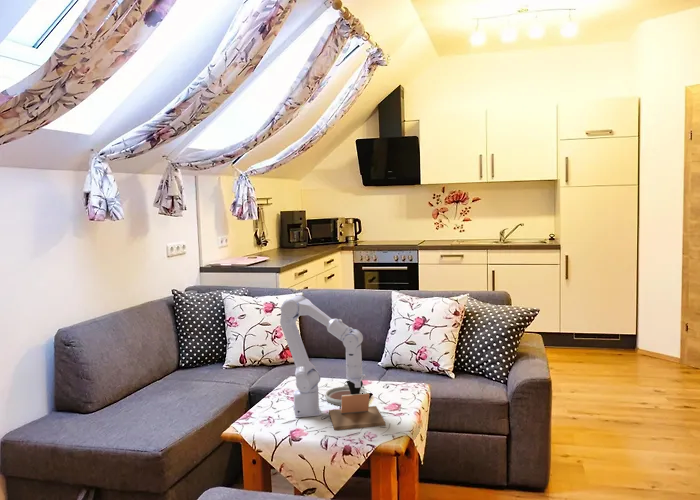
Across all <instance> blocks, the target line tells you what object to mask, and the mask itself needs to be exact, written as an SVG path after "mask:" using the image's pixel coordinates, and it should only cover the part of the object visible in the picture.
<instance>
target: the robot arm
mask: <svg viewBox="0 0 700 500" xmlns="http://www.w3.org/2000/svg"><path fill="white" fill-rule="evenodd" d="M279 308H280V320H279V324H280V327H281V330H282V332H283V335H284V337H285V341H286V343H287V346H288V349H289V351H290V353H291V356H292V360H293V363H294V365H295V372H294V376H295V386H296V388H297V390H293V407H292V408H293V411H294V417H295V418H306V417H317V416H318V417H319V416H322V412H321V409H320V402H319V401H320V400H319V399H320V398H319V397H320V396H319V385H318V384H319V383H320V382H321V374H320V372H319V371H318V370H317V369H316V367H315V365H314V364H313V363H312V362H311V361H310V358H309V356H308V353H307V350H306V348H305V345H304V343H303V340H302V337H301V334H300V332H299V328H298V325H297V321H298V319H299V317H300V316H308V317H310V318H312V319H314V320H315V321H317V322H318V323H320V324H322V325H324V327H326V331H327V333H330V334H331V335H332V336H333V337H336V338H337V340H339V341H341V342H342V345H343V346H344V348H345V371H346V374H345V375H346V376H345V379H346V385H347V384H348V386H349V389H350V393H351V395H352V394H359V393H360V389H361V388H362V386H364V382H363V379H365V378H366V374H363V362H362V361H363V359H362V358H363V357H362V355H363V354H362V343H363V340H364V336H363V333H362V332H361V331H360V330H359V329H355V328H353V327H350V326H349V325H347V324H346V323H344V322H343V320H342V319H341V318H339V319H338V318H332V317H330V316H329V315H328V314H326V313H325V312H324V311H323V310H321V309H320V308H319V307H317V306H316V305H315V304H313V303H312V302H311V300H310V299H308V298H306V297H305V296H304V295H302V294H298V295H295V296H293V297H291V298H289V299H286V300H284V301H283V303H282V304H281V306H280V307H279Z"/></svg>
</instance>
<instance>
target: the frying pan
mask: <svg viewBox="0 0 700 500" xmlns="http://www.w3.org/2000/svg"><path fill="white" fill-rule="evenodd" d="M364 388H365V385H362V387H361V389H360V393H359V394H362V393H368V392H367V391H366V389H364ZM342 395H351V393H350V389H349V386H348V384H347V383H346V384H344V386H337V387H333V388H330V389H328V390H327V391H326V392H325V394H324V397H325V399H326V401H327V402H328V403H329V404H330V405H331V404H332V405H334V404H335V406H341V402H342Z"/></svg>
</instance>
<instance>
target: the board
mask: <svg viewBox="0 0 700 500" xmlns="http://www.w3.org/2000/svg"><path fill="white" fill-rule="evenodd" d="M328 415H329V419H330V421H331V423H332V427H333V431H340V430H349V429H350V430H351V429H361V428H373V427H381V426H383V427H384V426H386V420H385V419H384V417H383V416H382V414H381V412H380V410H379V409H378V407H377V405H372V406H369V408H368V412H357V413H346V414H341V408H339V409H329V410H328Z"/></svg>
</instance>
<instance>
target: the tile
mask: <svg viewBox="0 0 700 500" xmlns="http://www.w3.org/2000/svg"><path fill="white" fill-rule="evenodd" d="M369 404H370V392H367V393H363V394H352V395H342V402H341V405H340V406H341V408H340V409H341V414H346V413H357V412H368V408H369V407H370V406H369Z"/></svg>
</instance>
